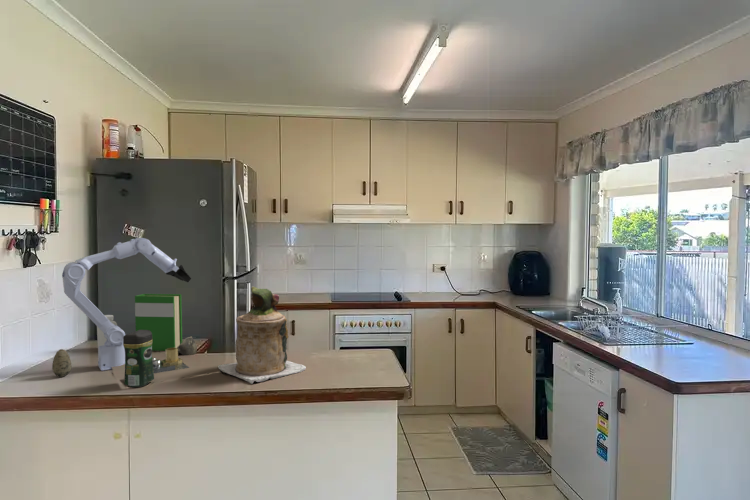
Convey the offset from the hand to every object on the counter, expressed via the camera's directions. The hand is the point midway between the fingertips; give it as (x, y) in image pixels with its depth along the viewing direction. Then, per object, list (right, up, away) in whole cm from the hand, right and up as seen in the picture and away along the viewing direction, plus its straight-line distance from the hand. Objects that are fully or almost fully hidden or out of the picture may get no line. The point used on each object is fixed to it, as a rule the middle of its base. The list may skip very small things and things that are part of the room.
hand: (186, 279), depth 215 cm
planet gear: (-1, -32, -14) cm, 35 cm away
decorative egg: (-35, -34, -27) cm, 56 cm away
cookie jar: (+36, -34, -21) cm, 53 cm away
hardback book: (-18, -32, +15) cm, 39 cm away
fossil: (-2, -32, +4) cm, 33 cm away
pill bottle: (-40, -32, +14) cm, 53 cm away
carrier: (-3, -33, -17) cm, 37 cm away
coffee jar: (-3, -34, -36) cm, 50 cm away
